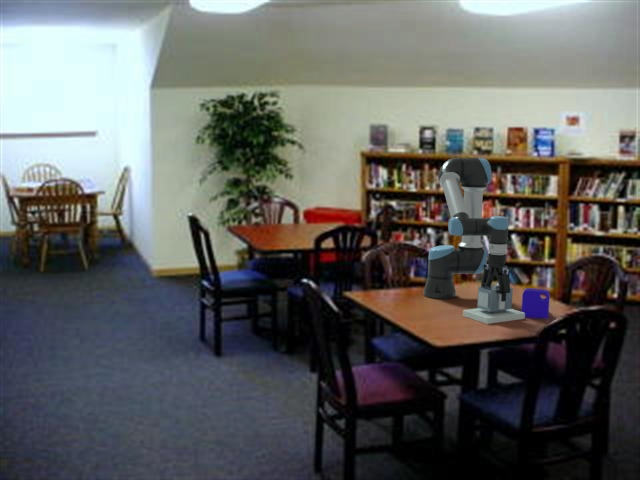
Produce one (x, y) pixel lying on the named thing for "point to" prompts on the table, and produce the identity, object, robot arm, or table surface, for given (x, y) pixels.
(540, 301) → the bracket
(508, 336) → the table surface
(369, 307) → the table surface
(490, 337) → the table surface
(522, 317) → the tray
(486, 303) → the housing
